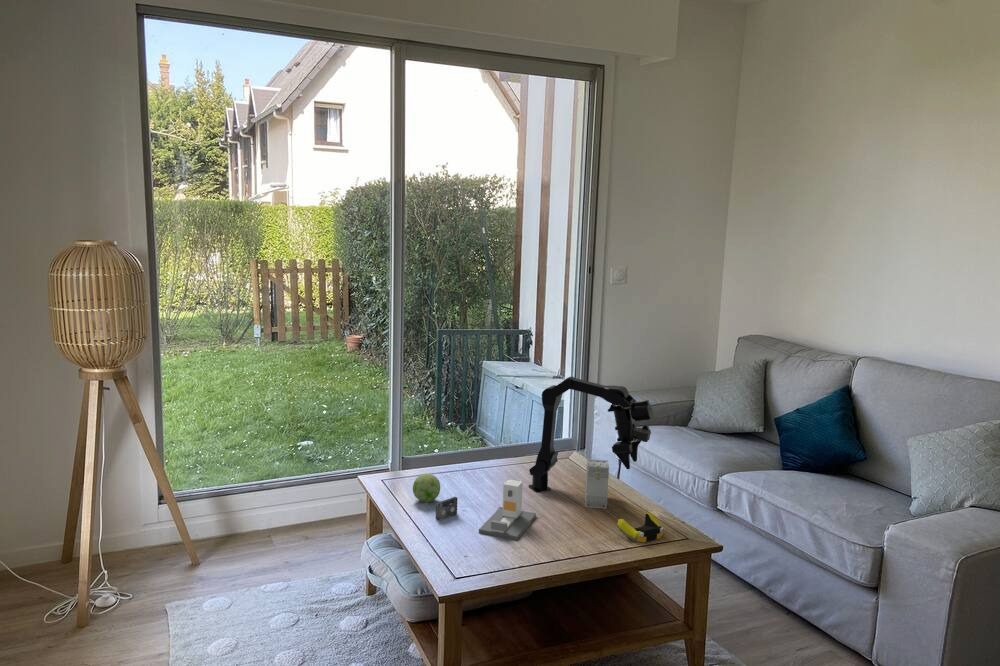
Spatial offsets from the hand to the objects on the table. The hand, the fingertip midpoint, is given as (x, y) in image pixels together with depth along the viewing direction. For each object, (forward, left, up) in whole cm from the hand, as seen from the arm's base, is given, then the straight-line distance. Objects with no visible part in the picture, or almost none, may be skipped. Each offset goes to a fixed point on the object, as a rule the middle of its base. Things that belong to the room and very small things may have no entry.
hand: (631, 465), depth 255 cm
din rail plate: (-1, -47, -15) cm, 50 cm away
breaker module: (-4, -45, -14) cm, 47 cm away
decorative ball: (-29, -66, -16) cm, 74 cm away
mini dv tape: (-14, -64, -16) cm, 68 cm away
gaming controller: (+22, -10, -16) cm, 29 cm away
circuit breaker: (-9, -8, -16) cm, 20 cm away
